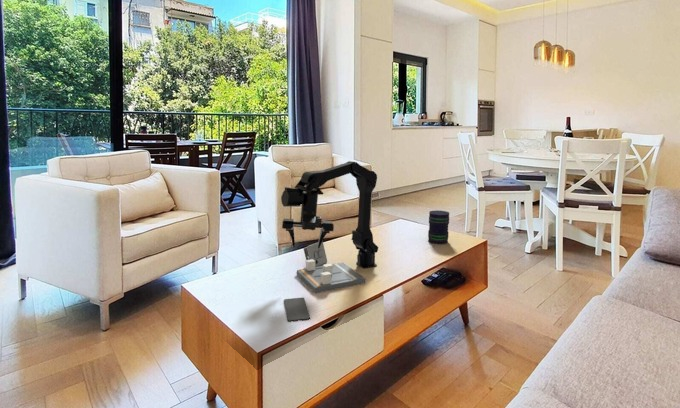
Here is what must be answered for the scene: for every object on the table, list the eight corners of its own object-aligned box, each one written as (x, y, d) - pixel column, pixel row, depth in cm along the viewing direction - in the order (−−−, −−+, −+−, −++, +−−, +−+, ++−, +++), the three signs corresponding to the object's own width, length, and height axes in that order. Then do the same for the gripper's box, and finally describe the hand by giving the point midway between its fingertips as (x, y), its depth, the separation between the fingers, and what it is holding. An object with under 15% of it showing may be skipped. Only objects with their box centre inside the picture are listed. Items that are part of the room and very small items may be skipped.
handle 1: (312, 267, 155) (312, 259, 155) (315, 269, 153) (315, 261, 152) (305, 268, 154) (305, 260, 153) (308, 270, 152) (307, 262, 151)
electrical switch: (312, 269, 160) (310, 246, 159) (303, 267, 164) (301, 245, 162) (327, 262, 168) (326, 241, 166) (318, 261, 171) (316, 240, 170)
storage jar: (426, 243, 195) (427, 213, 192) (428, 238, 204) (430, 209, 201) (447, 245, 192) (449, 215, 189) (448, 239, 201) (450, 211, 198)
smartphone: (287, 320, 117) (283, 299, 131) (287, 323, 117) (283, 301, 131) (310, 318, 118) (304, 297, 132) (310, 321, 118) (304, 299, 133)
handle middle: (330, 272, 150) (329, 263, 150) (332, 274, 148) (332, 265, 148) (322, 273, 149) (322, 264, 148) (325, 275, 147) (325, 266, 146)
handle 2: (328, 280, 142) (328, 271, 141) (331, 283, 140) (331, 273, 139) (320, 282, 141) (320, 272, 140) (323, 284, 139) (323, 275, 138)
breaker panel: (342, 267, 162) (342, 262, 162) (365, 283, 145) (365, 277, 145) (296, 274, 154) (296, 269, 153) (315, 293, 137) (315, 287, 136)
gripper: (283, 208, 136) (280, 252, 138) (336, 211, 138) (333, 254, 140) (283, 203, 147) (281, 244, 149) (333, 206, 149) (330, 246, 151)
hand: (306, 247), depth 147 cm, fingers open, 9 cm apart
